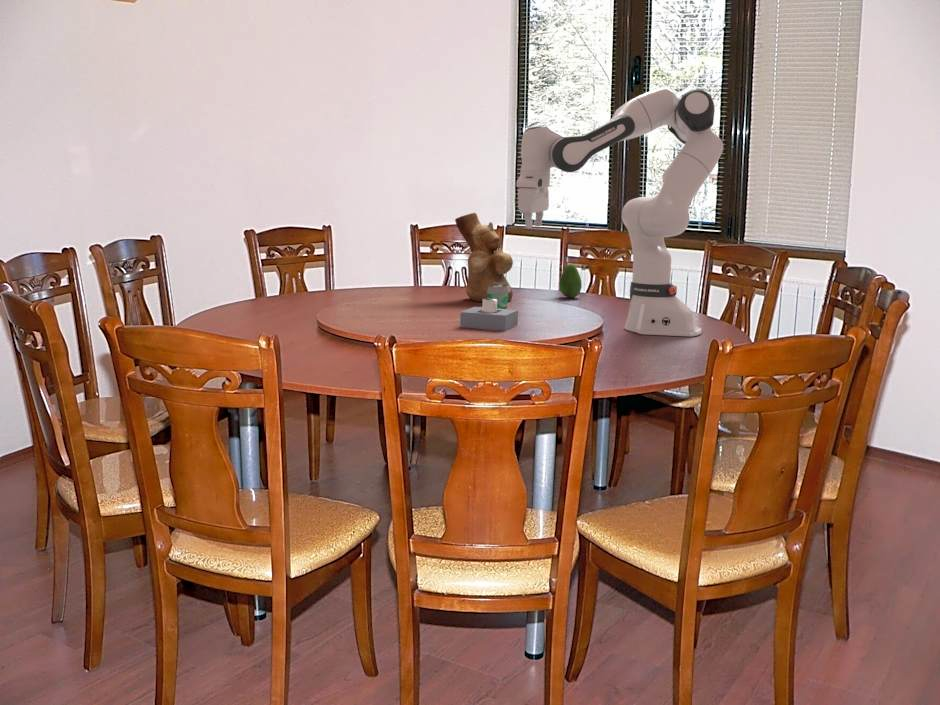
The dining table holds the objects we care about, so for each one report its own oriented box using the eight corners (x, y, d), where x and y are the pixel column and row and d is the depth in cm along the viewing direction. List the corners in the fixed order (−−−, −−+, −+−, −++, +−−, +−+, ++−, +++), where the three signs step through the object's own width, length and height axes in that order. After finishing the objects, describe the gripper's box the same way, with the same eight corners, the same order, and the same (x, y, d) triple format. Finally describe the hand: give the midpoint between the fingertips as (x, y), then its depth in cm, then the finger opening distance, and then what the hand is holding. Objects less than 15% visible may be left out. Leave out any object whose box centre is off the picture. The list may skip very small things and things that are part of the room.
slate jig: (517, 324, 324) (518, 309, 323) (505, 330, 313) (505, 315, 312) (474, 321, 329) (474, 306, 328) (460, 327, 318) (460, 312, 317)
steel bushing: (498, 325, 322) (499, 298, 321) (493, 327, 318) (494, 300, 316) (484, 324, 324) (485, 297, 322) (479, 326, 319) (480, 299, 318)
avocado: (570, 295, 390) (571, 262, 388) (585, 298, 384) (586, 264, 382) (554, 297, 385) (555, 263, 383) (569, 300, 379) (570, 266, 377)
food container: (506, 319, 333) (507, 287, 331) (486, 318, 334) (487, 286, 332) (512, 314, 345) (513, 283, 343) (493, 313, 346) (494, 282, 344)
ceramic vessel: (499, 305, 362) (501, 216, 357) (444, 299, 373) (445, 212, 367) (520, 300, 376) (523, 214, 370) (467, 294, 387) (468, 210, 381)
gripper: (534, 179, 332) (533, 224, 335) (514, 181, 313) (513, 228, 316) (554, 180, 330) (553, 225, 333) (535, 181, 311) (534, 229, 314)
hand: (533, 227), depth 324 cm, fingers open, 8 cm apart
